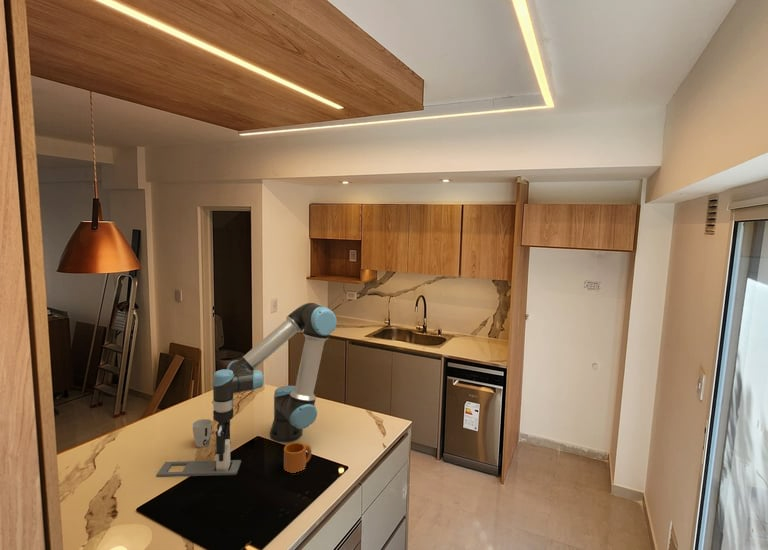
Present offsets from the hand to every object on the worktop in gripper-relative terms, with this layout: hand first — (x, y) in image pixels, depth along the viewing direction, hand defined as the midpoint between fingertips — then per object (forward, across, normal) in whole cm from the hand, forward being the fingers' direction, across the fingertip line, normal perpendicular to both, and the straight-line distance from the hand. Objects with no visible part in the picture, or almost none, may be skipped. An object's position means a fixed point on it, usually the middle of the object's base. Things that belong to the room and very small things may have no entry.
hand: (223, 463), depth 174 cm
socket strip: (+2, 0, -9) cm, 9 cm away
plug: (+2, 0, 0) cm, 2 cm away
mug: (+2, 0, +30) cm, 30 cm away
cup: (+2, -20, -14) cm, 25 cm away
